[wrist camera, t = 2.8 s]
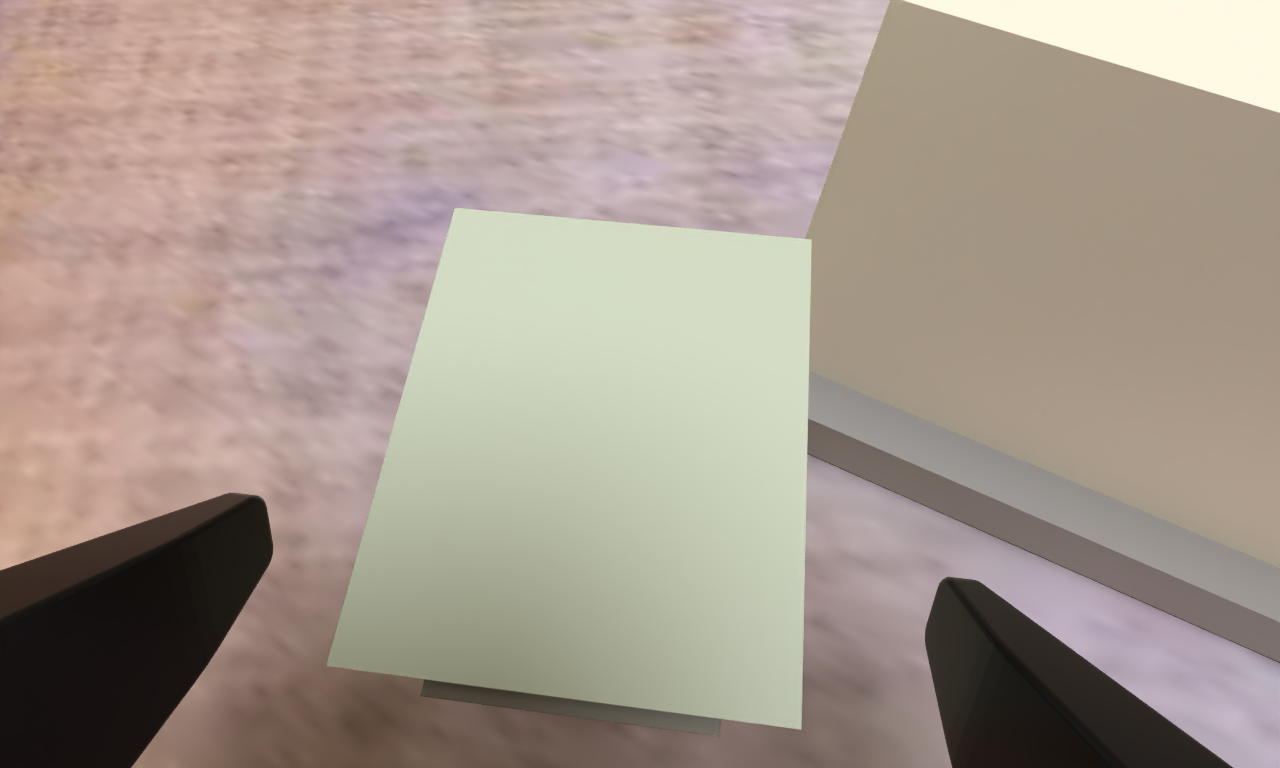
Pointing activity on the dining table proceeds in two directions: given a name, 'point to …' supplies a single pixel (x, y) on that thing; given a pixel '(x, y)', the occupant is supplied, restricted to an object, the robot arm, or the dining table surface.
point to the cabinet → (597, 478)
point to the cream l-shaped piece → (1067, 289)
